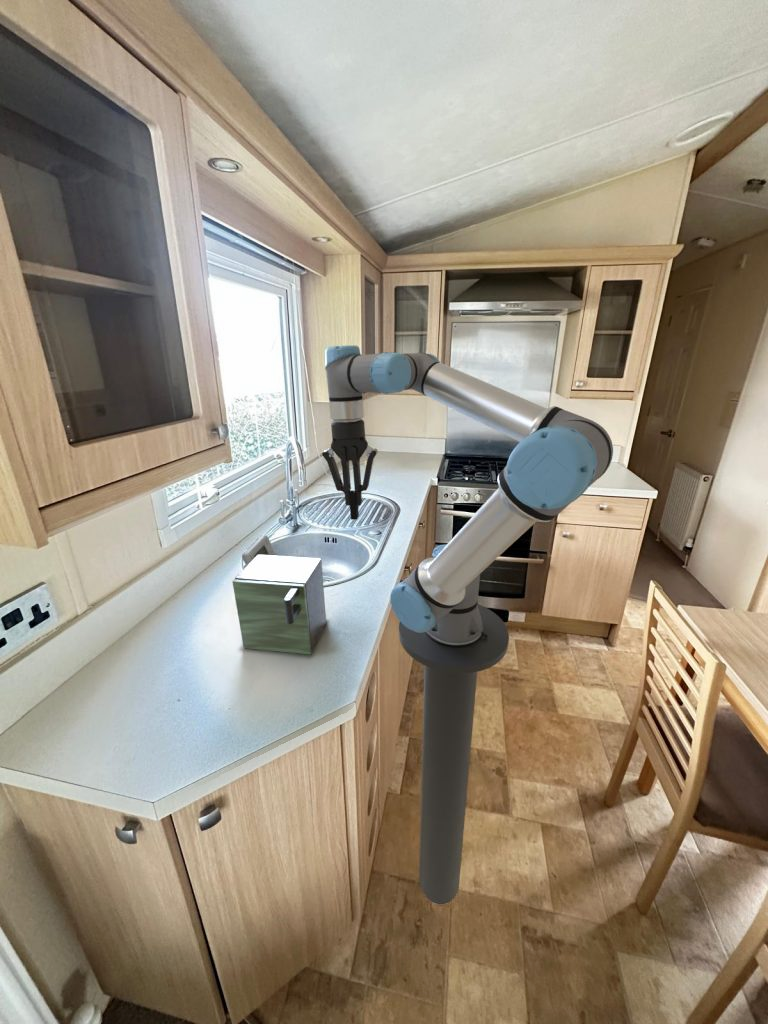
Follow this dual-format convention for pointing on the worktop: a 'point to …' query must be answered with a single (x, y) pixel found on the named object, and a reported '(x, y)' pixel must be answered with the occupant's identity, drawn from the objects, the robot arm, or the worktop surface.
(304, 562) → the cupboard
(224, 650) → the worktop surface
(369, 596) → the worktop surface
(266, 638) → the door
